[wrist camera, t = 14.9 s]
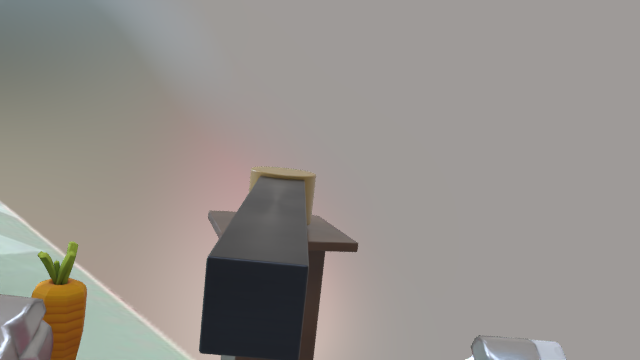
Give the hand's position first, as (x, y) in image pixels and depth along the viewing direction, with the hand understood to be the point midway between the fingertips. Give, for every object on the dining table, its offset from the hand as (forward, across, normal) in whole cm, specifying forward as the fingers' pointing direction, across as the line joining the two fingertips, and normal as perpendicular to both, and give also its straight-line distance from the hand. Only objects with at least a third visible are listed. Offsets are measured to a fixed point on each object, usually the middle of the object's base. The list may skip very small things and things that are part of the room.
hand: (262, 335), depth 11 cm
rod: (+10, 0, +8) cm, 13 cm away
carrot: (+24, +20, +43) cm, 53 cm away
